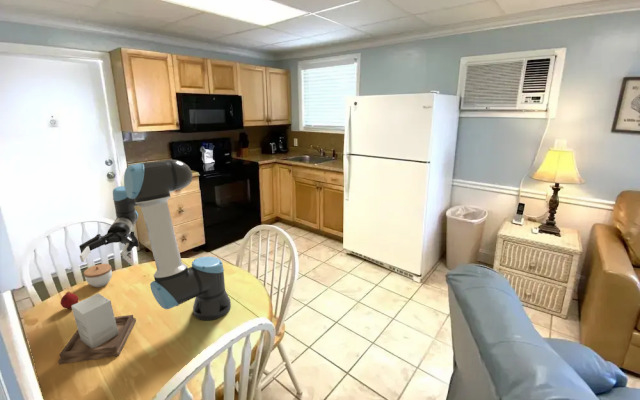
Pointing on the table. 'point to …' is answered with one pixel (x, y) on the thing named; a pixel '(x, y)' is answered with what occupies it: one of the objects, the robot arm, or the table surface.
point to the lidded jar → (98, 275)
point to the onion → (69, 300)
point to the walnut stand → (110, 348)
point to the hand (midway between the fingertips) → (102, 256)
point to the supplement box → (95, 320)
